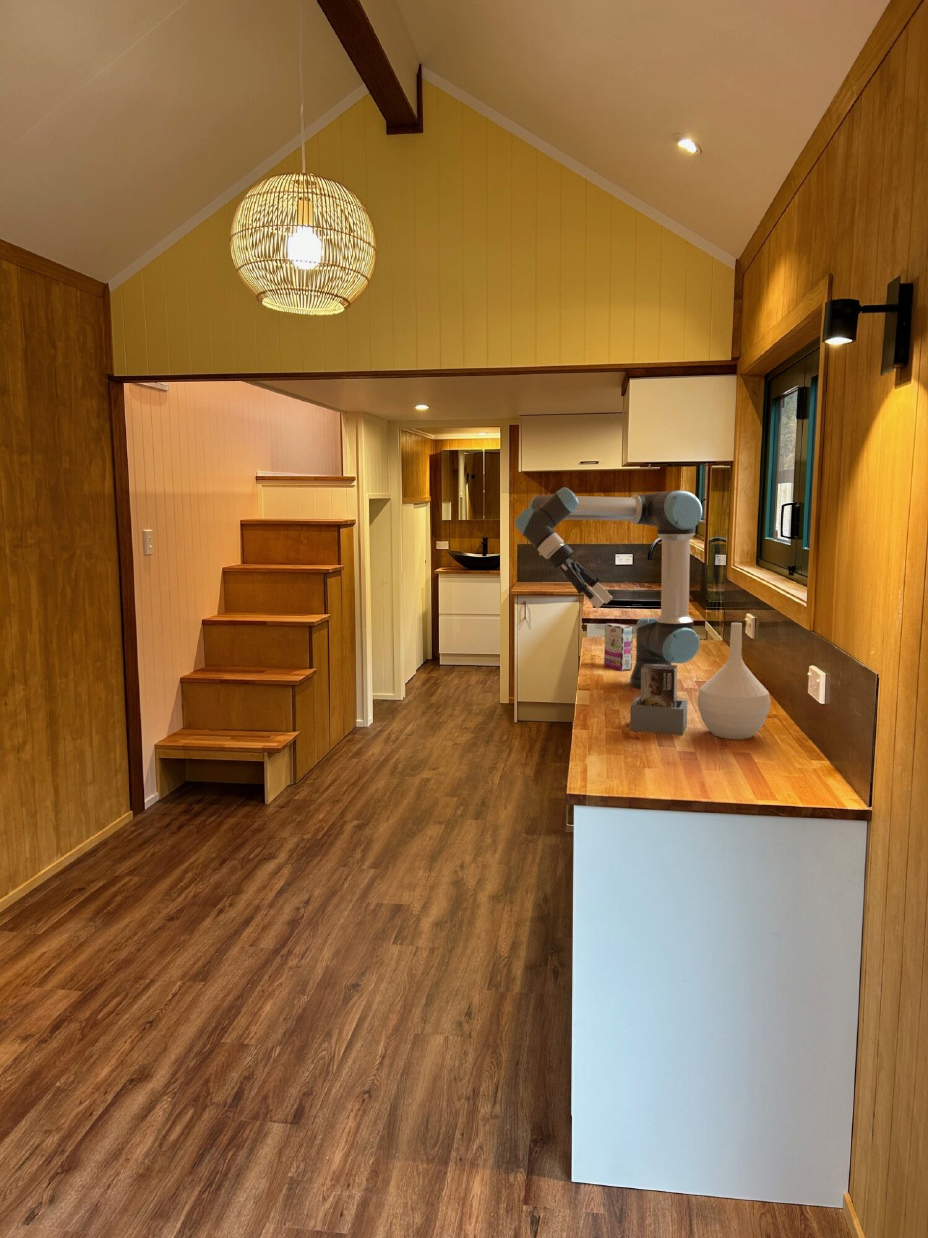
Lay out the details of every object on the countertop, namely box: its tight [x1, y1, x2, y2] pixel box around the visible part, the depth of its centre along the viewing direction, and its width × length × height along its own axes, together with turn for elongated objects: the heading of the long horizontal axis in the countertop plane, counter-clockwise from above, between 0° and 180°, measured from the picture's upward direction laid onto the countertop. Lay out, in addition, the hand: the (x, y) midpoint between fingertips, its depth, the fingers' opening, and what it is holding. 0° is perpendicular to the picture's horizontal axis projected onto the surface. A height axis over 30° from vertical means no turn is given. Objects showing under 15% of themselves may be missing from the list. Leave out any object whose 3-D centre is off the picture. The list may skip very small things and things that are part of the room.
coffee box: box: [640, 664, 678, 708], centre depth 233 cm, size 9×6×16 cm
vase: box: [697, 622, 771, 740], centre depth 225 cm, size 18×18×30 cm
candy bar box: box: [603, 622, 634, 672], centre depth 319 cm, size 11×5×16 cm, turn 27°
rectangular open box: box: [629, 696, 688, 736], centre depth 233 cm, size 11×14×7 cm
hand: (605, 603), depth 253 cm, fingers open, 13 cm apart
